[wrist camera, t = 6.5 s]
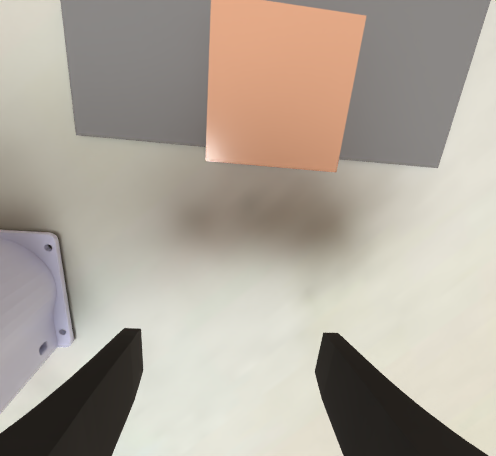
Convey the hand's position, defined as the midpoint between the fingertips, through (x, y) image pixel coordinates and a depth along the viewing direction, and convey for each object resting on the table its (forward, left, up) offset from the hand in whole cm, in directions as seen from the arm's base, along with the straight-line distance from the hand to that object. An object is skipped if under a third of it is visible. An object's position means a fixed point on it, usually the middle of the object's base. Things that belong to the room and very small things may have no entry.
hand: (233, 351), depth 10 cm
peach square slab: (+7, -2, -8) cm, 11 cm away
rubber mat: (+14, -2, -9) cm, 17 cm away
